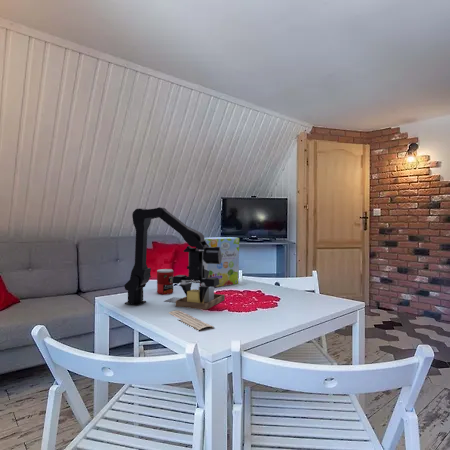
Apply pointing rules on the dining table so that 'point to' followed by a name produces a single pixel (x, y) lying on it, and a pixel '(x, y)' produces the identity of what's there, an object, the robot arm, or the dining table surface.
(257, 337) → the dining table surface
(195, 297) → the mustard block
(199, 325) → the tan flat ridged strip
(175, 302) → the slate pad
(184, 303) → the walnut tray
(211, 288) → the grey-blue block
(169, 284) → the canned food
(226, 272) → the snack box
